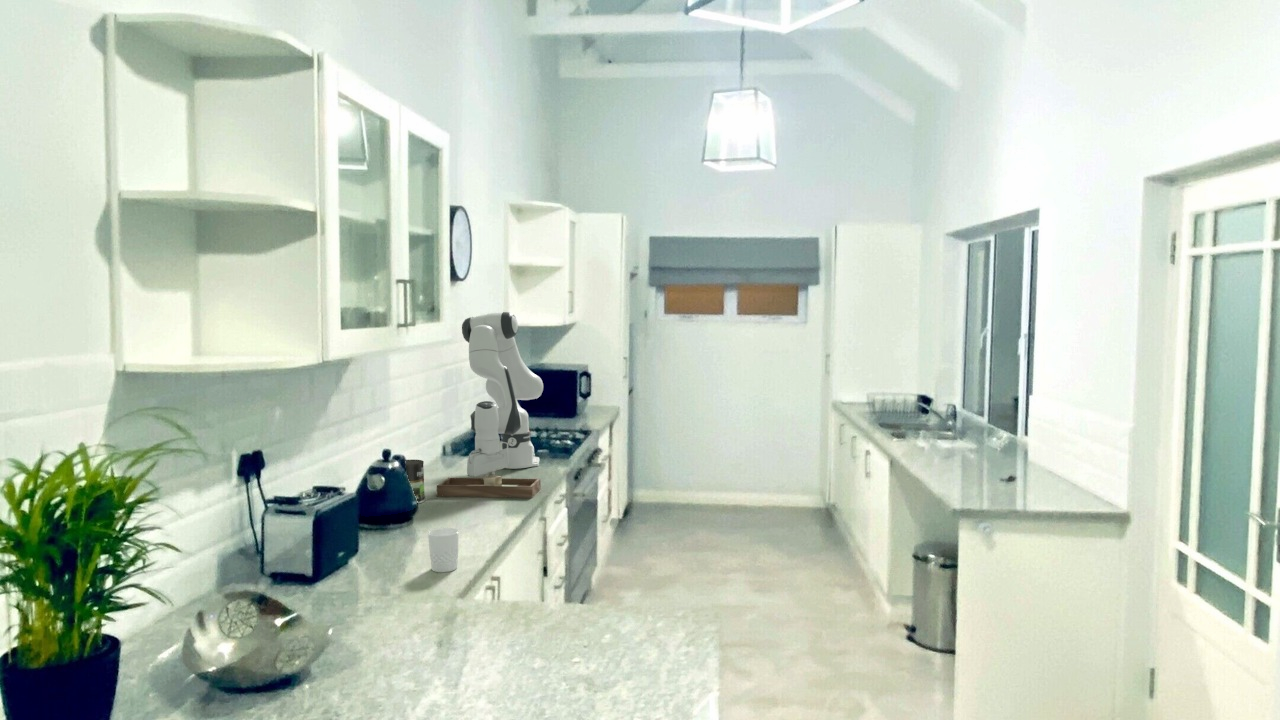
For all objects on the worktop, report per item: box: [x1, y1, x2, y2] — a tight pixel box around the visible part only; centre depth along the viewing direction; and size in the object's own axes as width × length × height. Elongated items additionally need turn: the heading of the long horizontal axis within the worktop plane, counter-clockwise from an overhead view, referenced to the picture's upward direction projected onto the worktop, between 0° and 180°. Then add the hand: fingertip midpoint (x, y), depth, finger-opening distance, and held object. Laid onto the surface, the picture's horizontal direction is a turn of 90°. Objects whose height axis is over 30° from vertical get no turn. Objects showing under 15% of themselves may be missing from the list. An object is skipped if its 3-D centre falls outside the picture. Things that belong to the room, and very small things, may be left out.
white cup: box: [427, 527, 459, 573], centre depth 234 cm, size 8×8×10 cm
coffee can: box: [404, 459, 426, 505], centre depth 308 cm, size 10×10×14 cm
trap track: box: [436, 477, 541, 499], centre depth 320 cm, size 13×35×4 cm, turn 84°
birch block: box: [484, 475, 502, 486], centre depth 317 cm, size 4×4×4 cm
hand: (488, 484), depth 320 cm, fingers closed
